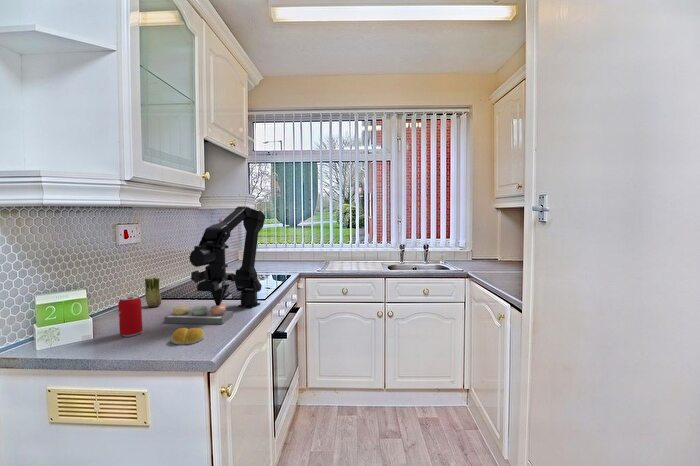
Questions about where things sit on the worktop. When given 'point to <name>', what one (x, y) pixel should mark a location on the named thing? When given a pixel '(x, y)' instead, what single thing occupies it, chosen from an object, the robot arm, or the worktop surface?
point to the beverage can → (130, 315)
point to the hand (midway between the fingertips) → (218, 305)
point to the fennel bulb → (152, 292)
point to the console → (199, 318)
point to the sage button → (199, 310)
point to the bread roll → (187, 336)
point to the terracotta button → (218, 309)
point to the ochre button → (180, 310)
